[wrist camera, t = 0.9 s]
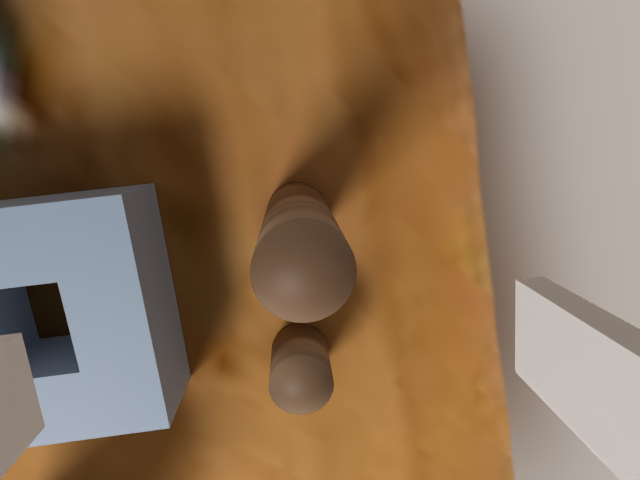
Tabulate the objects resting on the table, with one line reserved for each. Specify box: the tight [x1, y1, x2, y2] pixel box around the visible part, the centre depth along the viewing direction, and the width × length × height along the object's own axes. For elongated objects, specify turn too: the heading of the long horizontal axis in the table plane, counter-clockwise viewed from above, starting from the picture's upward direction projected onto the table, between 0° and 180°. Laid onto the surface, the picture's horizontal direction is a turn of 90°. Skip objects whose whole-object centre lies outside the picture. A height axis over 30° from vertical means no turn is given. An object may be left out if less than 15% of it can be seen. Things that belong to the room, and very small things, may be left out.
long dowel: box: [250, 182, 356, 323], centre depth 24 cm, size 4×4×14 cm
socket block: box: [0, 183, 191, 447], centre depth 28 cm, size 14×14×6 cm
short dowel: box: [269, 323, 334, 415], centre depth 31 cm, size 4×4×5 cm
